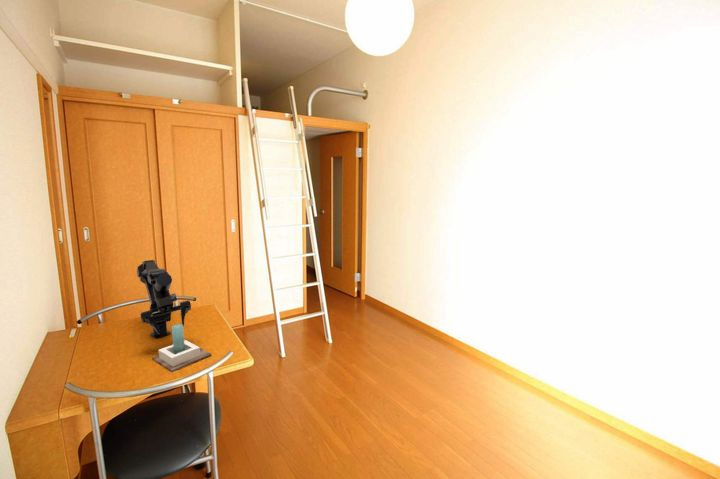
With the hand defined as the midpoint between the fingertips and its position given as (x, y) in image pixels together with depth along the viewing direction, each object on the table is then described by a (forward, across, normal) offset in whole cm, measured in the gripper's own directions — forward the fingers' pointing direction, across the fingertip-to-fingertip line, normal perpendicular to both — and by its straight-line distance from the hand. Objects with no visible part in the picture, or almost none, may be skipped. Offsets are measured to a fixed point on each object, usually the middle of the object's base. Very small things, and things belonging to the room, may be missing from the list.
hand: (171, 329), depth 147 cm
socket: (+13, 0, 0) cm, 13 cm away
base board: (+13, 0, 0) cm, 13 cm away
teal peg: (+12, 0, -1) cm, 12 cm away
